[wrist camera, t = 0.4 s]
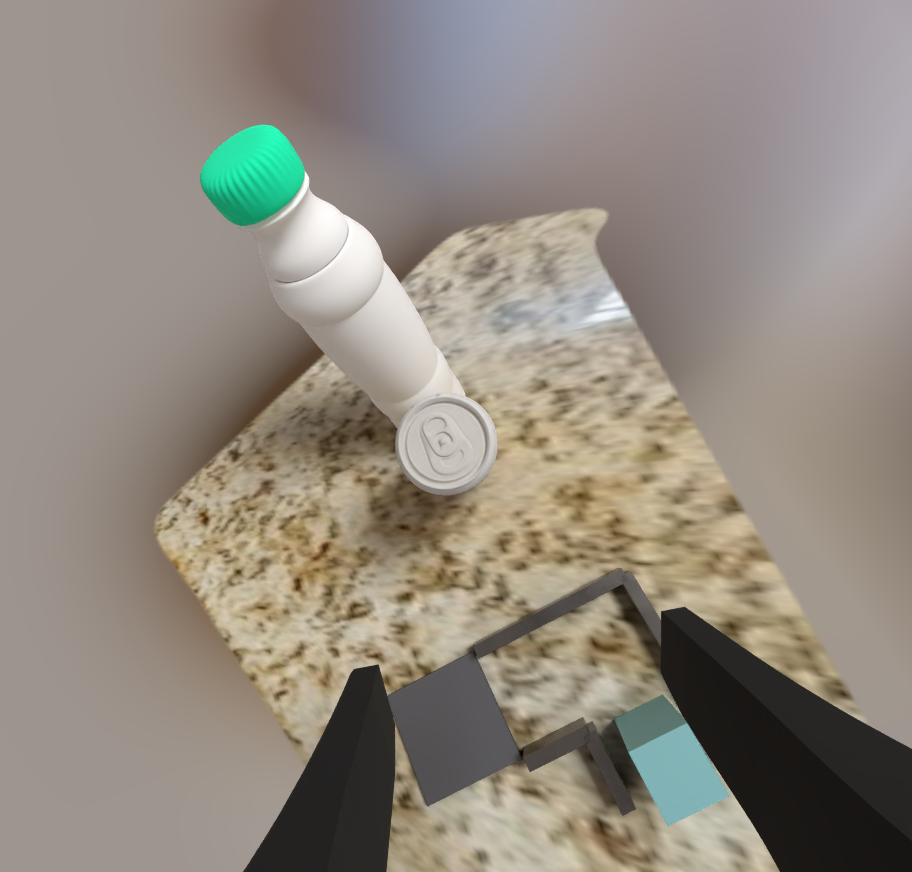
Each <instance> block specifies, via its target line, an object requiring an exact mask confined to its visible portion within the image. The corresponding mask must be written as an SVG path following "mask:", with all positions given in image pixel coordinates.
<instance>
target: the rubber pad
mask: <svg viewBox="0 0 912 872" xmlns="http://www.w3.org/2000/svg"><path fill="white" fill-rule="evenodd" d="M387 697H388V701H389V704H390V707H391V710H392V712H393V715H394V718H395V720H396V723H397V726H398V728H399V731H400V734H401V736H402V739H403V742H404V744H405V747H406V750H407V752H408V755H409V758H410V760H411V763H412V766H413V769H414V771H415V774H416V777H417V779H418V782H419V785H420V787H421V790H422V793H423V795H424V798H425V801H426V803H427V806H430V805H431V804H433V803H435V802H437V801H439V800H441V799H443V798H445V797H447V796H449V795H451V794H453V793H455V792H457V791H459V790H461V789H463V788H465V787H467V786H469V785H471V784H473V783H475V782H477V781H479V780H481V779H483V778H485V777H487V776H489V775H491V774H493V773H495V772H497V771H499V770H501V769H503V768H505V767H507V766H509V765H511V764H513V763H515V762H517V761H519V760H521V758H522V756H521V754H520V752H519V750H518V748H517V745H516V743H515V741H514V739H513V737H512V734H511V732H510V730H509V728H508V726H507V723H506V721H505V719H504V717H503V715H502V712H501V710H500V708H499V706H498V703H497V701H496V699H495V697H494V695H493V692H492V690H491V688H490V686H489V684H488V681H487V679H486V677H485V675H484V673H483V670H482V668H481V666H480V664H479V662H478V659H477V657H476V655H475V653H474V651H472V652H470V653H468V654H467V655H465V656H463V657H461V658H459V659H457V660H455V661H453V662H451V663H449V664H447V665H445V666H443V667H442V668H440V669H438V670H436V671H434V672H432V673H430V674H428V675H426V676H424V677H422V678H420V679H418V680H417V681H415V682H413V683H411V684H409V685H407V686H405V687H403V688H401V689H399V690H397V691H395V692H394V693H392V694H390V695H388V696H387Z"/></svg>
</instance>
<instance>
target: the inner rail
mask: <svg viewBox="0 0 912 872" xmlns="http://www.w3.org/2000/svg"><path fill="white" fill-rule="evenodd" d="M585 744H587V746H588V748H589V750H590V752H591V754H592V756H593V758H594V760H595V762H596V764H597V766H598V768H599V770H600V772H601V774H602V776H603V778H604V780H605V782H606V784H607V786H608V788H609V790H610V792H611V794H612V796H613V798H614V800H615V802H616V804H617V806H618V808H619V810H620V812H621V814H622V816H623V815H625V814H627V813H629V812H631V811H633V810H635V809H636V808H635V805H634V803H633V800H632V797H631V795H630V793H629V791H628V789H627V787H626V785H625V783H624V781H623V779H622V777H621V775H620V773H619V771H618V769H617V767H616V765H615V764H614V762H613V760H612V758H611V756H610V754H609V752H608V750H607V748H606V746H605V744H604V742H603V740H602V738H601V736H600V735H599V733H598V731H597V729H596V727H595V725H594V723H593V721H592V722H590V723H588V724H586V722H585V720H584V718H583V717H582V718H580V719H578V720H576V721H574V722H572V723H570V724H568V725H566V726H564V727H562V728H560V729H558V730H556V731H554V732H552V733H550V734H548V735H546V736H545V737H543V738H541V739H539V740H537V741H535V742H533V743H531V744H529V745H527V746H525V747H524V753H523V758H524V760H525V762H526V765H527V767H528V769H529V771H530V772H531V771H533V770H535V769H537V768H539V767H541V766H543V765H545V764H547V763H549V762H551V761H553V760H555V759H557V758H559V757H561V756H563V755H565V754H567V753H569V752H571V751H573V750H575V749H577V748H579V747H581V746H583V745H585Z"/></svg>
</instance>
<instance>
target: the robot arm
mask: <svg viewBox="0 0 912 872" xmlns="http://www.w3.org/2000/svg"><path fill="white" fill-rule="evenodd" d="M661 674H662V676H663V678H664V680H665V682H666V684H667V686H668V688H669V690H670V692H671V694H672V696H673V698H674V700H675V702H676V704H677V706H678V708H679V710H680V711H681V713H682V715H683V717H684V719H685V720H686V722H687V723H688V725H689V727H690V728H691V730H692V731H693V733H694V734H695V736H696V737H697V739H698V741H699V742H700V744H701V745H702V747H703V748H704V750H705V751H706V753H707V755H708V756H709V758H710V759H711V761H712V762H713V764H714V765H715V767H716V768H717V770H718V771H719V773H720V775H721V776H722V778H723V779H724V781H725V782H726V784H727V785H728V787H729V788H730V790H731V791H732V793H733V795H734V796H735V798H736V799H737V801H738V802H739V804H740V805H741V807H742V808H743V810H744V811H745V813H746V815H747V816H748V818H749V819H750V821H751V822H752V824H753V826H754V827H755V829H756V831H757V832H758V834H759V836H760V837H761V839H762V840H763V842H764V844H765V845H766V847H767V849H768V851H769V853H770V854H771V856H772V858H773V860H774V862H775V863H776V865H777V867H778V869H779V871H780V872H912V749H911V748H909V747H907V746H905V745H903V744H902V743H900V742H898V741H896V740H894V739H892V738H890V737H889V736H887V735H885V734H883V733H881V732H879V731H878V730H876V729H874V728H872V727H870V726H868V725H867V724H865V723H863V722H861V721H859V720H857V719H856V718H854V717H852V716H851V715H849V714H847V713H845V712H844V711H842V710H840V709H838V708H837V707H835V706H833V705H832V704H830V703H828V702H827V701H825V700H824V699H822V698H820V697H819V696H817V695H815V694H814V693H812V692H810V691H809V690H807V689H805V688H804V687H802V686H801V685H799V684H797V683H796V682H794V681H793V680H791V679H790V678H788V677H786V676H785V675H783V674H782V673H780V672H779V671H777V670H776V669H774V668H773V667H771V666H770V665H768V664H767V663H765V662H764V661H762V660H761V659H759V658H758V657H756V656H755V655H753V654H752V653H750V652H749V651H747V650H746V649H744V648H743V647H741V646H740V645H739V644H737V643H736V642H734V641H733V640H731V639H730V638H728V637H727V636H726V635H724V634H723V633H721V632H720V631H718V630H717V629H716V628H714V627H713V626H711V625H710V624H709V623H707V622H706V621H704V620H703V619H701V618H700V617H699V616H697V615H696V614H694V613H693V612H691V611H690V610H688V609H687V608H686V607H682V608H676V609H671V610H666V611H661ZM394 780H395V722H394V719H393V715H392V712H391V708H390V704H389V701H388V697H387V693H386V690H385V686H384V683H383V679H382V675H381V672H380V668H379V665H373V666H368V667H363V668H357V669H354V670H353V671H352V672H351V674H350V676H349V679H348V681H347V683H346V686H345V688H344V690H343V692H342V695H341V697H340V699H339V701H338V703H337V706H336V708H335V710H334V712H333V714H332V716H331V718H330V720H329V723H328V725H327V727H326V729H325V731H324V733H323V735H322V737H321V739H320V741H319V743H318V745H317V747H316V748H315V750H314V752H313V754H312V756H311V758H310V760H309V762H308V764H307V766H306V768H305V770H304V771H303V773H302V775H301V777H300V779H299V780H298V782H297V784H296V786H295V788H294V789H293V791H292V793H291V795H290V796H289V798H288V800H287V802H286V804H285V805H284V807H283V809H282V811H281V812H280V814H279V816H278V817H277V819H276V821H275V822H274V824H273V826H272V827H271V829H270V831H269V832H268V834H267V835H266V837H265V839H264V840H263V842H262V843H261V845H260V847H259V848H258V850H257V851H256V853H255V855H254V856H253V857H252V859H251V861H250V863H249V864H248V865H247V867H246V868H245V870H244V871H243V872H386V869H387V858H388V847H389V836H390V825H391V815H392V803H393V792H394Z"/></svg>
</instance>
